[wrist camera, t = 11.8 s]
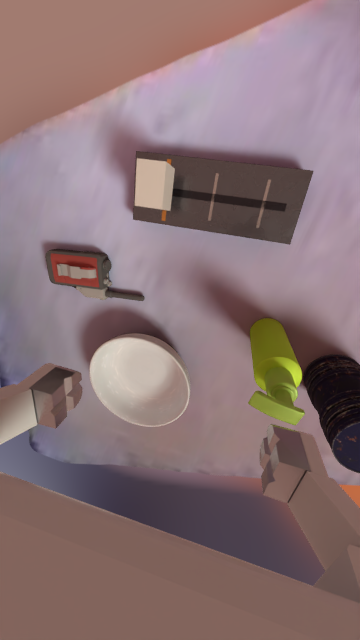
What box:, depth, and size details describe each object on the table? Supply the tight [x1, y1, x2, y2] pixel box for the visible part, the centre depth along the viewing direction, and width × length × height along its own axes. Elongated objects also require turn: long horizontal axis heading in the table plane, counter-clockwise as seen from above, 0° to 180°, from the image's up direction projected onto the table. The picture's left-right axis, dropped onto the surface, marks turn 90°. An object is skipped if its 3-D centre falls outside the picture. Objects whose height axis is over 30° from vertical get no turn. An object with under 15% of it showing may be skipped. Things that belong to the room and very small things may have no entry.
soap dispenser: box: [248, 318, 305, 425], centre depth 33 cm, size 6×7×20 cm
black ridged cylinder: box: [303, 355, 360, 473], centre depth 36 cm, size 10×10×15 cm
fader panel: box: [133, 151, 313, 244], centre depth 34 cm, size 24×9×3 cm, turn 82°
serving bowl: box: [89, 333, 190, 427], centre depth 48 cm, size 21×21×7 cm
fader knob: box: [135, 158, 175, 211], centre depth 31 cm, size 4×5×7 cm
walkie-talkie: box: [46, 249, 144, 301], centre depth 44 cm, size 9×4×20 cm
